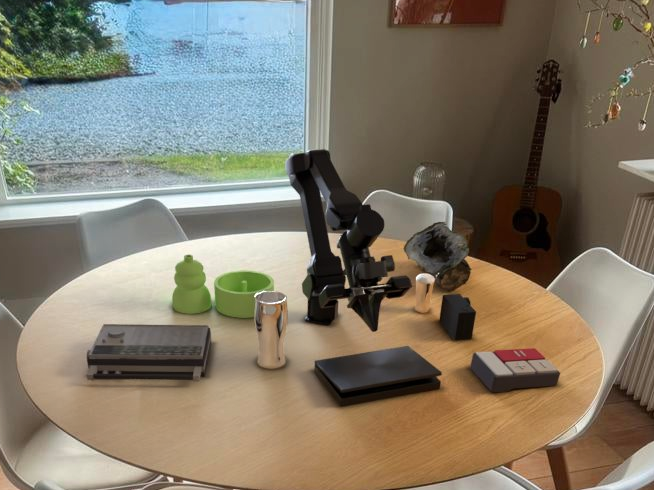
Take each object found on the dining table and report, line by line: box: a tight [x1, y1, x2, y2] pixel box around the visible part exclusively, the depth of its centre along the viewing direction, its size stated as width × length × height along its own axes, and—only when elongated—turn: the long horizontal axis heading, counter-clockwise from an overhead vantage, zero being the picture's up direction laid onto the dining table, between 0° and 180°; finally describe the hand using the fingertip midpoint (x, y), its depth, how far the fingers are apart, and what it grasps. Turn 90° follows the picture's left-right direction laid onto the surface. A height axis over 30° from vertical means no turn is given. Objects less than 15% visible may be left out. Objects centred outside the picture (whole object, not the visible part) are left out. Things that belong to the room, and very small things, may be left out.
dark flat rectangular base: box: [313, 364, 442, 408], centre depth 151 cm, size 15×22×2 cm
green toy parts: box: [171, 254, 275, 319], centre depth 177 cm, size 25×15×13 cm, turn 93°
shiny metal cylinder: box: [414, 273, 439, 314], centre depth 178 cm, size 5×5×10 cm
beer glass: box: [253, 290, 289, 370], centre depth 153 cm, size 7×7×15 cm
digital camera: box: [438, 293, 477, 341], centre depth 170 cm, size 10×5×7 cm, turn 12°
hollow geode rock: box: [403, 221, 473, 293], centre depth 194 cm, size 28×13×15 cm
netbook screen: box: [314, 345, 443, 393], centre depth 150 cm, size 15×22×1 cm
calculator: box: [469, 347, 561, 393], centre depth 153 cm, size 11×4×15 cm
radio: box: [86, 323, 212, 382], centre depth 155 cm, size 24×5×20 cm
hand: (375, 331), depth 148 cm, fingers closed
